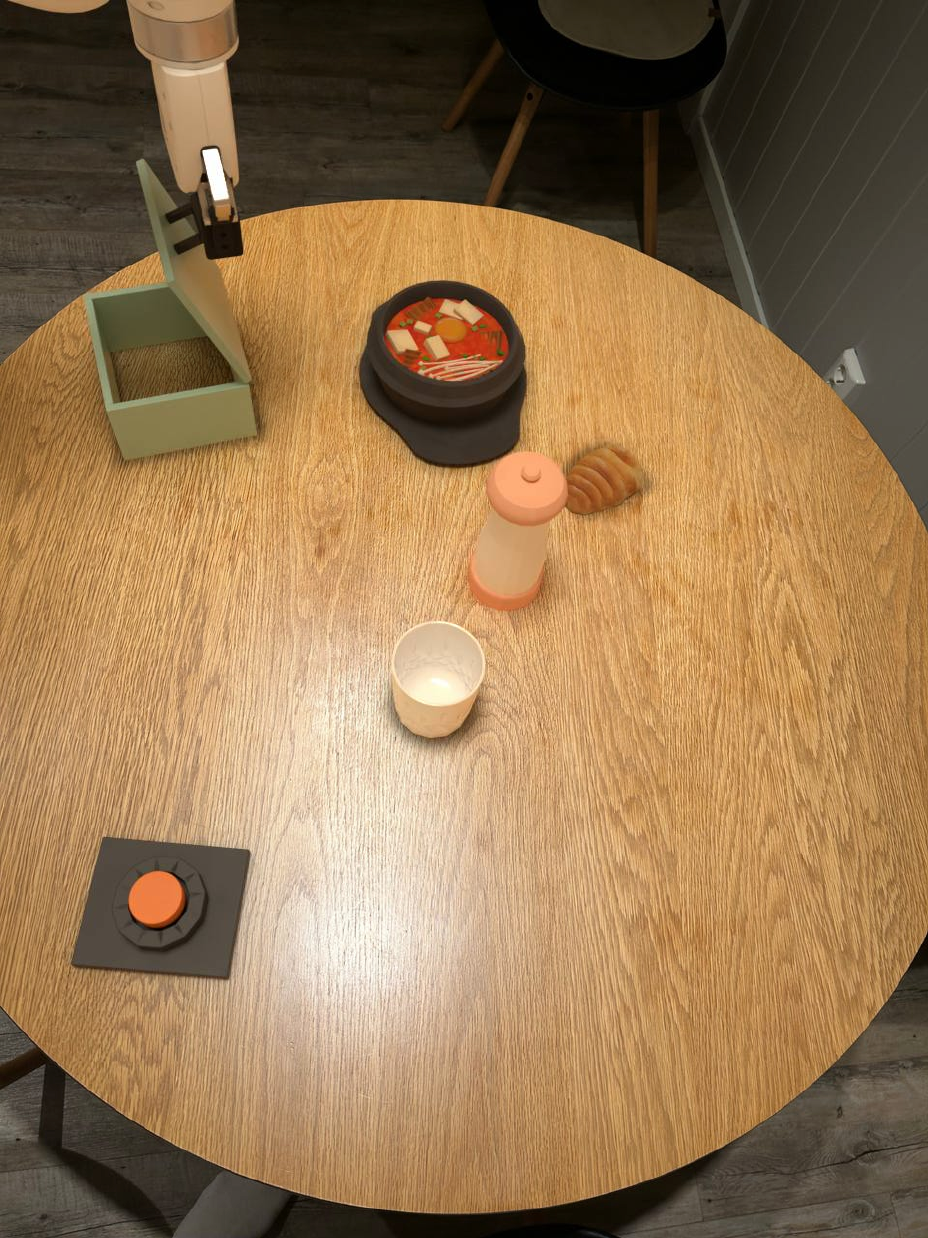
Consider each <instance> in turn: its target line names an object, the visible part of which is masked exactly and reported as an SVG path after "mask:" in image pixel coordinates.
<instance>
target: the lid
mask: <svg viewBox="0 0 928 1238" xmlns="http://www.w3.org/2000/svg"><path fill="white" fill-rule="evenodd" d="M135 164H136V168H137V172H138V176H139V181H140V184H141V189H142V192H143V196H144V200H145V205H146V208H147V211H148V216H149V221H150V224H151V227H152V228H151V229H152V232H153V236H154V240H155V243H156V247H157V251H158V255H159V260H160V263H161V268H162V271H163V275H164V280H165V282H166V283H167V285H168V286H169V287H170V288H171V290H172V291H173V292H174V294H175V295H176V296H177V297H178V299H179V300H180V301H181V302H182V304H183V305H184V306H185V308H186V309H187V310H188V311H189V313H190V314H191V315H192V316H193V318H194V319H195V320H196V322H197V323H198V324H199V325H200V327H201V328H202V329H203V330H204V332H205V333H206V334H207V336H206V337H208V339H210V341H211V342H212V344H214V346H215V347H216V349H217V350H218V351H219V352H220V354H221V355H222V356H223V357H224V359H225V360H226V361H227V362H228V364H229V366H230V365H231V366H232V367H233V369H234V370H235V371H236V373H237V374H238V375H239V376H240V378H241V379H242V380H243V381H244V383H248V382H252V381H253V378H252V375H251V371H250V368H249V367H250V366H249V364H248V361H247V357H246V353H245V351H244V346H243V343H242V339H241V337H240V332H239V329H238V327H237V322H236V320H235V316H234V312H233V308H232V306H231V301H230V299H229V294H228V291H227V288H226V284H225V281H224V279H223V278H224V277H223V274H222V271H221V268H220V266H219V265H218V263H217V262H216V261H215V260H209V259H207V257H206V254H205V248H204V242H203V236H202V230H201V224H200V218H199V217H203V216H202V211H201V206H200V201H199V197H198V192H197V191H196V192H192V194H190V196H189V199H188V201H189V202H187V203H185V204H183V205H180V206H177V205H176V204H175V202H174V200H173V198H172V197H171V196H170V195H169V193H168V192H167V190H166V188H164V186H163V185H162V183H161V181H160V180H159V179H158V177H157V175H156V174H155V173H154V172H153V170H152V168H151V167H150V166H149V164H148V163H147V161H146V159H144V158H141V159H138V160H136V161H135ZM205 195H206V199H207V204H208V209H209V207H210V206H213V204H212V201H211V199H210V196H209V195H208V194H207V193H206V192H205ZM190 216H192V217H193V220H194V224H195V227H196V230H197V233H196V232H195V231H194V229H193V227H192V226H191V225H190V224H189V222H188V220H187V219H186V218H187V217H190Z"/></svg>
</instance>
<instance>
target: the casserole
mask: <svg viewBox="0 0 928 1238" xmlns="http://www.w3.org/2000/svg"><path fill="white" fill-rule="evenodd" d="M366 334H367V336H366V345H365V346H364V349H363V352H362V354H361V357H360V361H359V370H358V375H359V381H360V387H361V388H362V392H363V394H364V396H365V399H366V400H367V401H368V403H369V404H370V406H372V408H373V409H374V410H375V412H376V413H378V414H379V415H380V416H381V417H382V418H383V419H384V420H385V421H386V422H387V423H388V424H390V425H391V426H392V427H393V428H394V429H395V430H396V431H398V433H399V435H400V436H401V437H402V438H403V439H404V441H405V442H406V444H407V445H408V446H409V447H410V448H411V450H412V451H413V453H414V454H416V455H417V456H419V457H421V458H422V459H424V460H425V461H429V462H434V463H438V464H443V465H468V464H476V463H480V462H484V461H489V460H491V459H493V458H496V457H498V456H500V455H503V454H504V453H506V452H507V451H509V450H510V449H512V448H513V447H514V446H515V444H516V443H517V442H518V439H519V438H520V433H521V432H520V431H521V430H520V429H521V410H522V405H523V402H524V398H525V396H526V395H525V394H526V391H527V387H528V383H527V382H528V380H527V371H526V367H525V360H526V344H525V340H524V336H523V334H522V331H521V330H520V328H519V326H518V324H517V322H516V320H515V318H514V316H513V315H512V313H511V312H510V310H509V308H508V307H506V306H505V304H504V303H503V302H502V301H501V300H499V299H498V298H497V297H496V296H494V295H493V294H492V293H489V292H488V291H486V290H484V289H483V288H480V287H477V286H475V285H473V284H469V283H466V282H461V281H455V280H445V279H442V280H441V279H440V280H439V279H438V280H428V281H427V280H426V281H424V282H423V281H422V282H418V283H415V284H412V285H409V286H407V287H404V288H403V289H402V290H400V291H398V292H396V293H395V294H393V296H391V298H390V299H389V300H387V301H385V302H383V303H381V304H380V305H378V306H377V307H376V309H375V310H374V311H373V313H371V319H370V323H369V328H368V330H367V333H366Z"/></svg>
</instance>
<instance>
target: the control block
mask: <svg viewBox="0 0 928 1238" xmlns="http://www.w3.org/2000/svg"><path fill="white" fill-rule="evenodd" d="M251 854H252V853H251V851H250V849H248V848H247V849H246V848H236V847H225V846H212V845H204V844H203V845H201V844H191V843H178V842H169V841H157V840H145V839H133V838H122V837H112V836H111V837H110V836H102V837H101V842H100V846H99V850H98V854H97V858H96V862H95V865H94V870H93V874H92V878H91V883H90V886H89V891H88V894H87V898H86V901H85V905H84V909H83V915H82V918H81V921H80V927H79V930H78V934H77V938H76V942H75V946H74V950H73V953H72V958H71V962H70V965H71V966H73V967H75V968H86V969H99V970H111V971H123V972H135V973H145V974H147V973H148V974H160V975H171V976H183V977H185V976H186V977H197V978H209V979H219V980H220V979H223V980H229V979H230V977H231V976H230V975H231V969H232V965H233V959H234V958H233V957H234V951H235V945H236V941H237V935H238V929H239V924H240V917H241V912H242V906H243V900H244V894H245V890H246V889H245V888H246V883H247V877H248V870H249V865H250V860H251V856H252V855H251ZM154 871H164V872H167V873H170V874H171V875H173V876H174V877H175V878H176V879H177V880H178V881H179V882H180V884H181V885H182V886H183V888H184V891H185V895H186V902H185V906H184V909H183V911H182V913H181V914H180V916H179V917H178V918H177V919H176V920H175V921H174V922H173V923H171V924H169V925H167V926H165V927H160V928H152V927H148V926H146V925H144V924H142V923H141V922H140V921H138V920H137V919H136V918H135V917H134V916H133V915H132V913H131V911H130V908H129V902H128V901H129V894H130V891H131V889H132V887H133V885H134V884H135V882H136V881H137V880H138V879H139V878H141V877H142V876H144V875H145V874H147V873H150V872H154Z"/></svg>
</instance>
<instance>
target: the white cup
mask: <svg viewBox="0 0 928 1238" xmlns="http://www.w3.org/2000/svg"><path fill="white" fill-rule="evenodd" d="M390 661H391V663H390V664H391V683H392V685H391V686H392V695H393V701H394V708H395V710H396V714H397V716H398V719H399V721H400V723H401V724H402V725H404V726H405V728H407V729H408V730H409V731H410V732H411V733H413V734H414V735H417V736H420V737H424V738H428V739H434V738H440V737H441V738H442V737H447V736H449V735H451V734H452V733H453V732H456V730H458V729H459V728H461V727H462V725H463V723H464V722H465V720H466V719H467V717H468V716H469V714H470V712H471V710H472V707H473V705H474V703H475V700H476V699H477V696H478V693H479V691H480V688H481V685H482V683H483V680H484V677H485V674H486V667H487V666H486V665H487V664H486V656H485V653H484V650H483V647H482V646H481V644H480V643H479V640H477V638H476V637H475V636H474V635H473V634H472V633H471V632H470V631H469V630H467V629H466V628H464V627H462V626H460V625H458V624H455V623H453V622H449V621H444V620H429V621H425V622H422V623H419V624H416V625H414V626H412V627H410V628H409V629H407V631H405V632H404V633H403V634H402V635H401V636H400V637H399V639H398V640H397V642H396V643H395V645H394V648H393V650H392V654H391V660H390Z"/></svg>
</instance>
